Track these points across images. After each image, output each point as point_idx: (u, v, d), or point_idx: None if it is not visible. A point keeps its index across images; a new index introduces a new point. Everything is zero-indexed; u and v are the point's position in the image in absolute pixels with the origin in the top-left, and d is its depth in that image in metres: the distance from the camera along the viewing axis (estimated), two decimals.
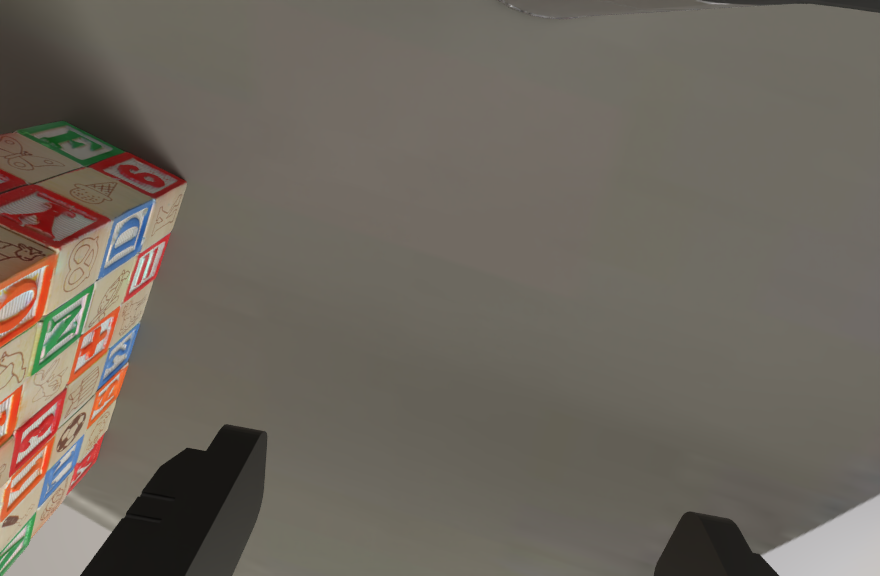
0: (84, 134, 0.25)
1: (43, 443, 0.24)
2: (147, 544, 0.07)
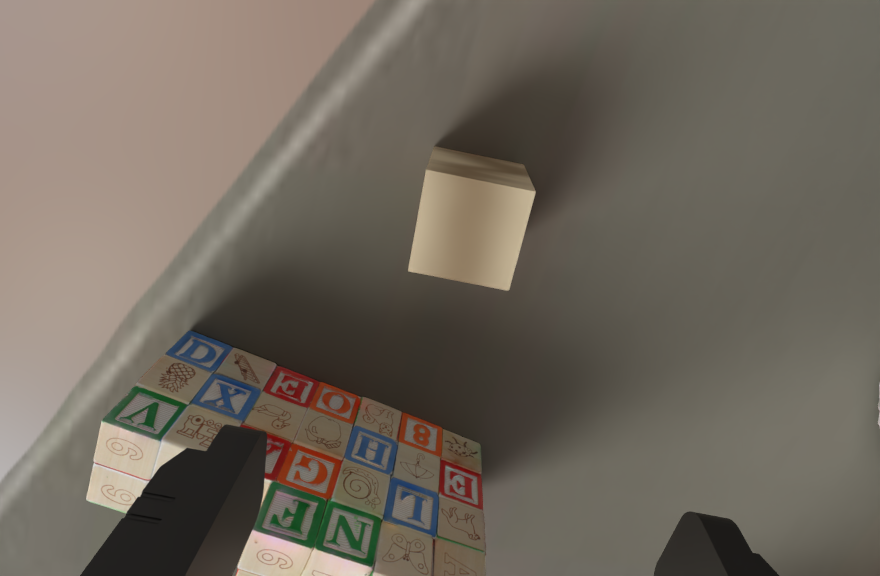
0: None
1: None
2: (147, 544, 0.07)
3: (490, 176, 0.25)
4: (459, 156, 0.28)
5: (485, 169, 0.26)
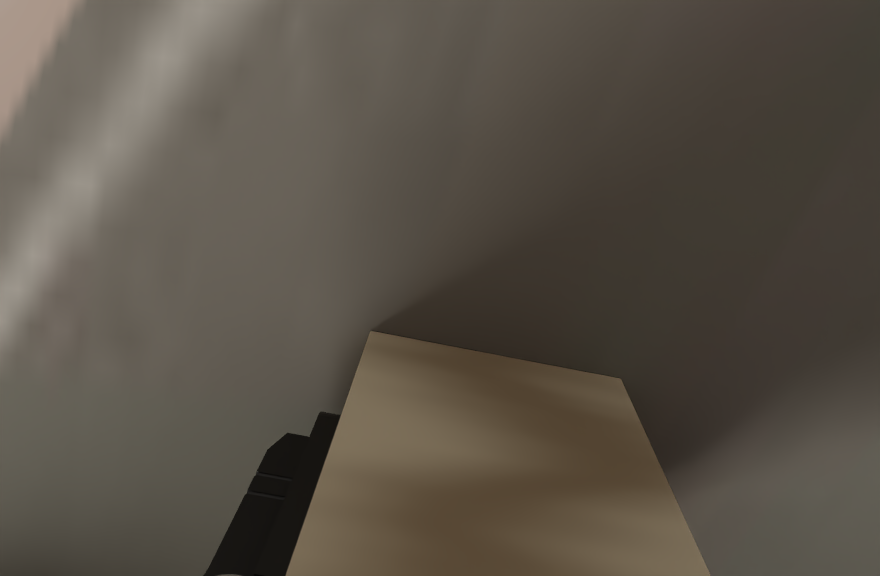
0: None
1: None
2: (279, 515, 0.08)
3: None
4: (438, 390, 0.09)
5: (527, 491, 0.07)
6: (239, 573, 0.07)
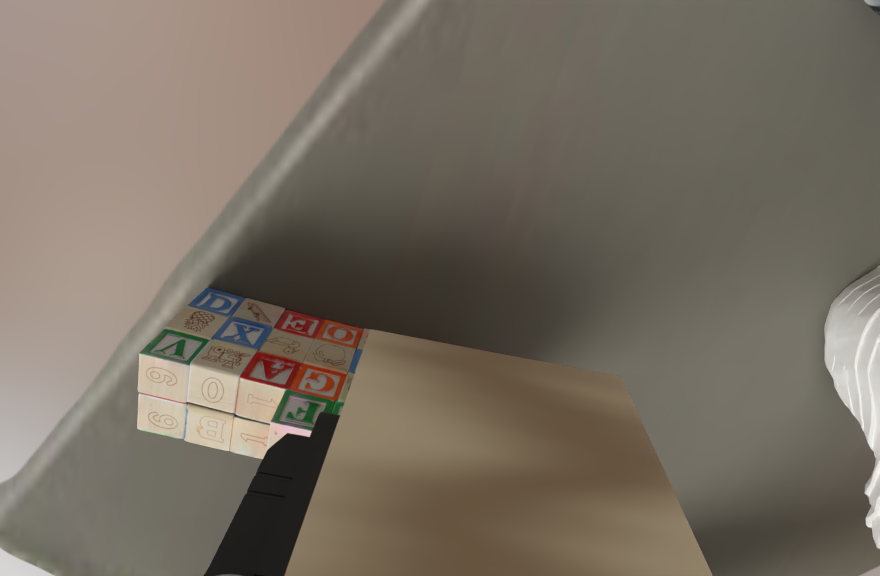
0: None
1: None
2: (279, 516, 0.08)
3: None
4: (439, 388, 0.09)
5: (527, 489, 0.07)
6: (239, 573, 0.07)
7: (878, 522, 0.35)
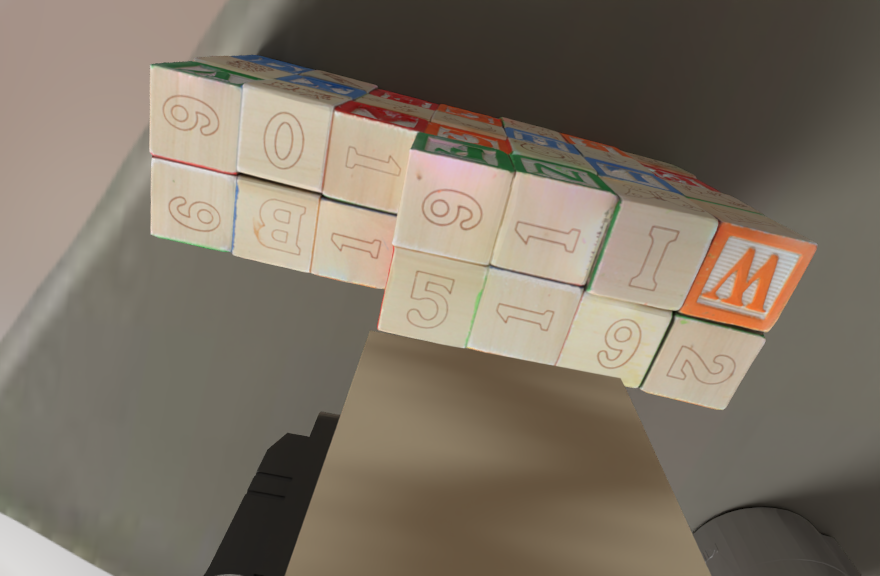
0: None
1: None
2: (279, 515, 0.08)
3: None
4: (438, 390, 0.09)
5: (527, 491, 0.07)
6: (239, 573, 0.07)
7: None
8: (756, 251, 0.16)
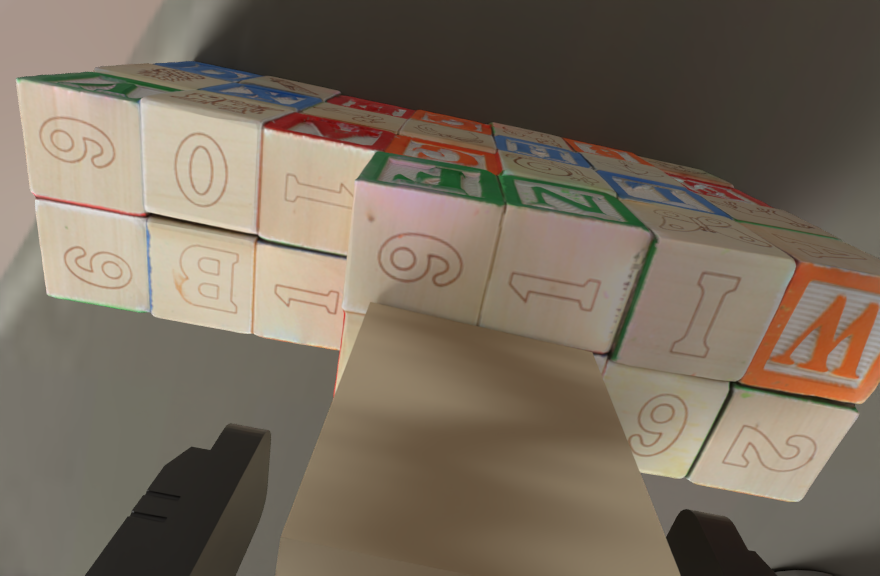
0: None
1: None
2: (153, 542, 0.07)
3: (523, 504, 0.07)
4: (430, 353, 0.10)
5: (503, 435, 0.08)
6: None
7: None
8: (848, 299, 0.11)
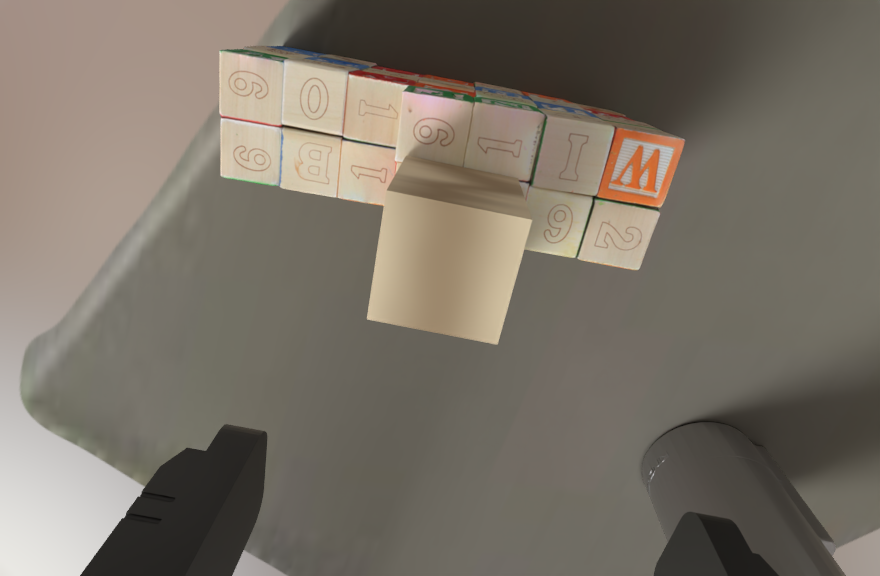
0: None
1: None
2: (147, 544, 0.07)
3: (473, 197, 0.19)
4: (436, 169, 0.22)
5: (467, 187, 0.20)
6: None
7: None
8: (644, 148, 0.23)
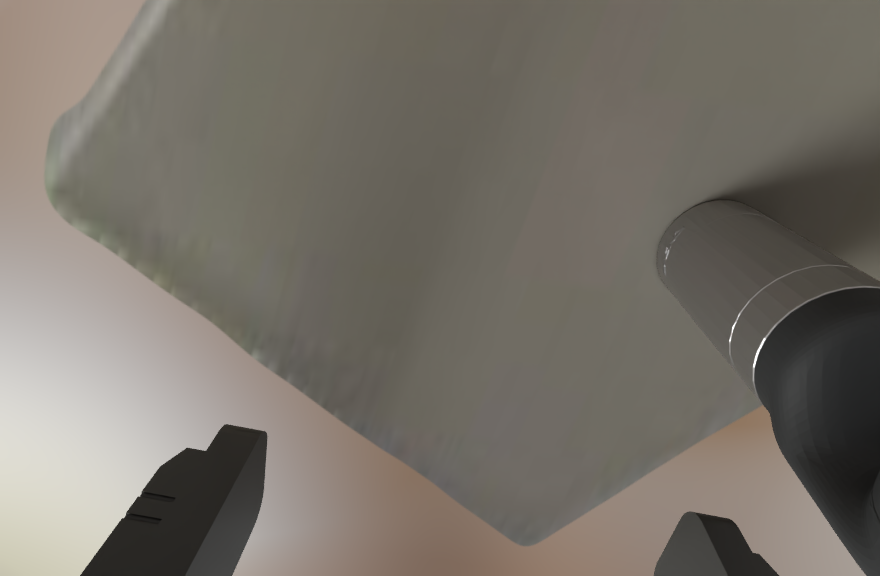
0: None
1: None
2: (147, 544, 0.07)
3: None
4: None
5: None
6: None
7: None
8: None
